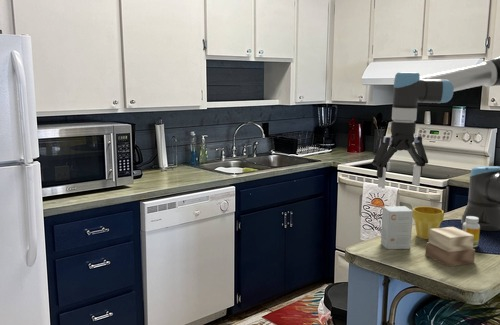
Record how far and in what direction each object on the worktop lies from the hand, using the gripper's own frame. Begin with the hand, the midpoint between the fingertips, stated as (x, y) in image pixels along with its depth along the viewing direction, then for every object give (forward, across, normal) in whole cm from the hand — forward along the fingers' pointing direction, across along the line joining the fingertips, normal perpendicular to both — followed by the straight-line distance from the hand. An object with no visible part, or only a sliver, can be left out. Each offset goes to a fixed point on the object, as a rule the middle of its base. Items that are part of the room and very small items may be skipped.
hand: (398, 186), depth 160 cm
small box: (+21, 0, 0) cm, 21 cm away
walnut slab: (+21, -9, +15) cm, 27 cm away
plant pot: (+21, -17, -5) cm, 27 cm away
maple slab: (+16, -9, +15) cm, 24 cm away
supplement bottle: (+20, -25, +7) cm, 33 cm away
